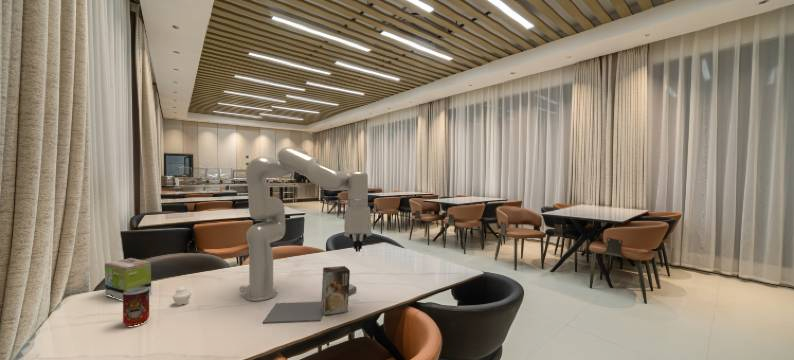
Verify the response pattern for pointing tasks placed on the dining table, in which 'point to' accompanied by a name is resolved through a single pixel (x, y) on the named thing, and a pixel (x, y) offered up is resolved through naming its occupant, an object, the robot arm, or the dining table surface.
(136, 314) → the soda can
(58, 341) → the dining table surface
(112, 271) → the tea box
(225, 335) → the dining table surface
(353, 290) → the stone block
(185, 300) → the muffin
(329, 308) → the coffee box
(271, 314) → the rubber mat
